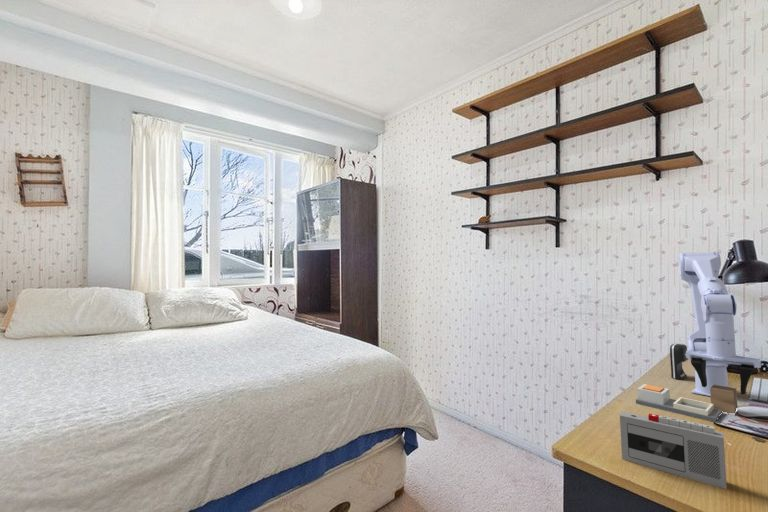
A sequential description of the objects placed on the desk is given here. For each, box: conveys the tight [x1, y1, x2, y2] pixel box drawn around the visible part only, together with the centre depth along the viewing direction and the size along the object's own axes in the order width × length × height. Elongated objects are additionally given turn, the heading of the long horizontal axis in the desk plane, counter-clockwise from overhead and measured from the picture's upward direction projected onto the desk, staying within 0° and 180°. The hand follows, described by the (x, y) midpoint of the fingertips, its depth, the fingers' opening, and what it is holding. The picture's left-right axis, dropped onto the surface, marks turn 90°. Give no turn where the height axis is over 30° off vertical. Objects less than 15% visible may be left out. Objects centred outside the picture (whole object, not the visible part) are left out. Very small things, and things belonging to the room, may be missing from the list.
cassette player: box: [619, 410, 728, 490], centre depth 70 cm, size 16×3×10 cm, turn 47°
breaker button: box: [643, 384, 665, 393], centre depth 103 cm, size 4×4×3 cm
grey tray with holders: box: [635, 383, 723, 423], centre depth 98 cm, size 8×17×4 cm, turn 38°
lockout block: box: [710, 385, 739, 413], centre depth 96 cm, size 4×4×6 cm
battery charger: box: [669, 343, 689, 380], centre depth 124 cm, size 7×4×11 cm, turn 128°
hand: (723, 389), depth 96 cm, fingers open, 7 cm apart
